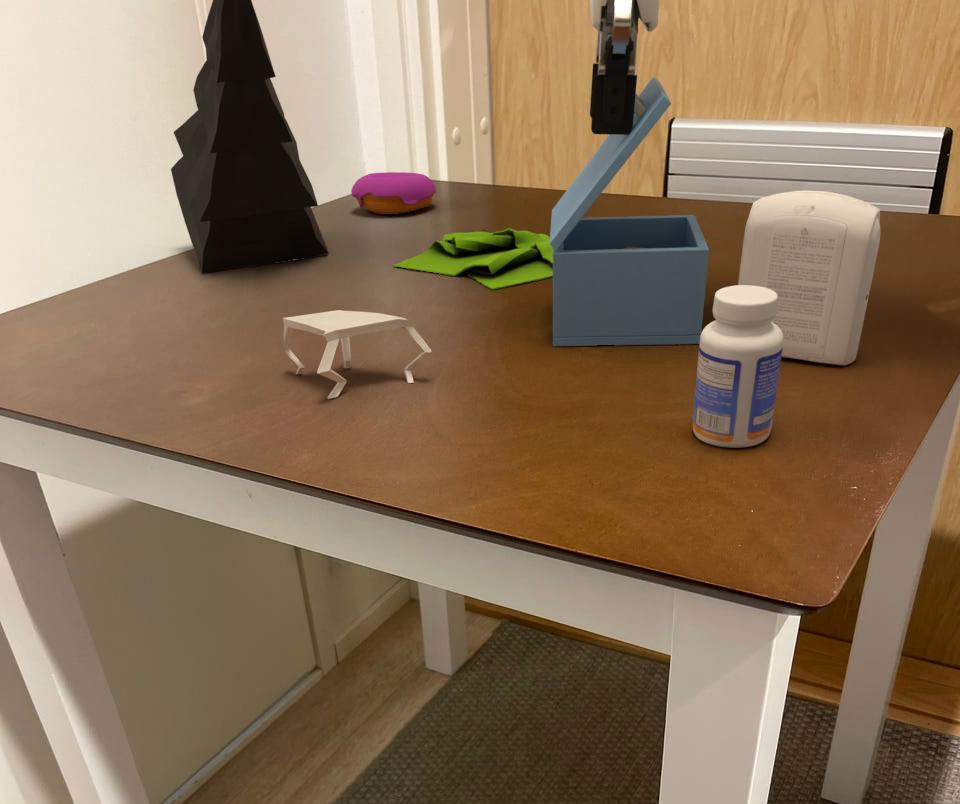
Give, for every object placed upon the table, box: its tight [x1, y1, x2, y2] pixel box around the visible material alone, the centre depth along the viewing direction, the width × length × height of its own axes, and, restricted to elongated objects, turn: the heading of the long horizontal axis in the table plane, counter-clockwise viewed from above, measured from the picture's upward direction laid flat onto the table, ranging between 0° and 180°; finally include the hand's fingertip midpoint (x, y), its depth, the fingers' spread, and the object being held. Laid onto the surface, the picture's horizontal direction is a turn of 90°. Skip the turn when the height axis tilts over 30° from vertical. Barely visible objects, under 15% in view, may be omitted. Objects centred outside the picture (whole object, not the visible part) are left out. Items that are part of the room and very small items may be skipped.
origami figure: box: [282, 309, 432, 400], centre depth 78 cm, size 12×8×5 cm
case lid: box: [549, 76, 672, 250], centre depth 80 cm, size 13×12×5 cm
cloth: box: [392, 227, 553, 291], centre depth 106 cm, size 20×22×2 cm
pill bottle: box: [692, 284, 783, 449], centre depth 65 cm, size 5×5×10 cm
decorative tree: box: [170, 0, 330, 275], centre depth 99 cm, size 15×15×35 cm
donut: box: [350, 171, 437, 215], centre depth 127 cm, size 10×10×5 cm
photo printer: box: [737, 190, 882, 367], centre depth 76 cm, size 10×4×12 cm, turn 60°
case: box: [552, 214, 710, 347], centre depth 86 cm, size 13×12×8 cm
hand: (610, 123), depth 78 cm, fingers closed on case lid, 6 cm apart
